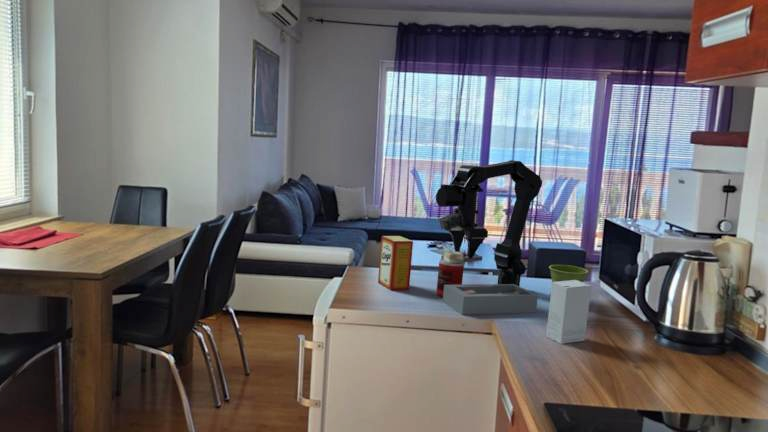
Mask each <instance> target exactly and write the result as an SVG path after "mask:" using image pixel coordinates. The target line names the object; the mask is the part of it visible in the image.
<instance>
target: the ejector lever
mask: <svg viewBox="0 0 768 432" xmlns="http://www.w3.org/2000/svg"><path fill="white" fill-rule="evenodd" d="M463 292H465V293H467V294H476V292H475V291H473V290H468V291H463ZM497 294H502V293H500V292H497ZM504 294H508V295H517V294H521V292H520V291H518V290H516V289H514V292H511V293H504Z"/></svg>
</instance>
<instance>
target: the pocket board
mask: <svg viewBox="0 0 768 432" xmlns="http://www.w3.org/2000/svg"><path fill="white" fill-rule="evenodd" d="M514 289H516V290H518V291H520V292H521V294H517V295H508V294H504V293H511V292H514ZM468 290H473V291H475V292H476V294H467V293H465V292H463V291H468ZM497 292H500V293H502V294H497ZM538 297H539V295H538V294H535V293H533V292H532V291H529V290H528V289H525V288H523V287H521V286H517V285H515V284H497V283H496V284H493V283H492V284H489V283H488V284H487V283H485V284H477V283H476V284H474V283H473V284H462V285H444V292H443V298H442V303H444V304H445V305H447V306H448V307H450V308H451V309H453V310H454V311H455V312H457V313H458V314H460V315H499V314H503V315H504V314H505V315H506V314H534V313H537V305H538Z"/></svg>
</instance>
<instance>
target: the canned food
mask: <svg viewBox="0 0 768 432" xmlns="http://www.w3.org/2000/svg"><path fill="white" fill-rule="evenodd" d="M464 267H465V262H464V261H463V263H449V262H447V261H445V260H444V258H441V259H439V263H438V273H437V283H436V295H437V296H438V297H439V298H442V299H443V292H444V285H463V278H464V271H465V270H464V269H465V268H464Z"/></svg>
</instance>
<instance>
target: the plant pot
mask: <svg viewBox="0 0 768 432" xmlns="http://www.w3.org/2000/svg"><path fill="white" fill-rule="evenodd" d="M548 269H549V270H550V277H551V283H552V282H559V281H569V280H578V281H580V282H583V283H584V281H585V279H586V275H587V274H588V273H589V270H588V269H585V268H583V267H579V266H575V265H569V264H551V265H549V266H548Z"/></svg>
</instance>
